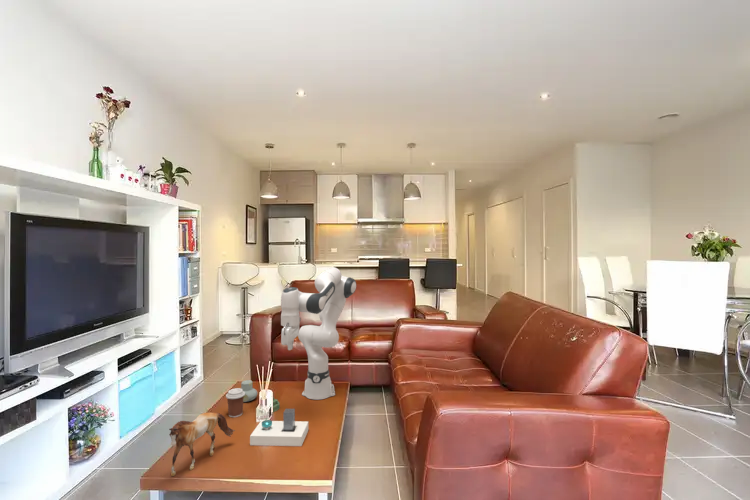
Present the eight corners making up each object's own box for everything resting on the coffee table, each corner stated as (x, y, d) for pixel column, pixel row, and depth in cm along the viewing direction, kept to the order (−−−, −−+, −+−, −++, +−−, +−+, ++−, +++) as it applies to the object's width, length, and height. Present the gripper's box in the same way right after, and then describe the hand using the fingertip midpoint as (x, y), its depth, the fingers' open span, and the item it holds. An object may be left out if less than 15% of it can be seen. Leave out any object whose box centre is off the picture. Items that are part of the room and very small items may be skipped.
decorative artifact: (279, 411, 196) (279, 404, 206) (279, 398, 196) (279, 391, 206) (259, 414, 193) (259, 406, 203) (259, 400, 193) (259, 393, 203)
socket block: (261, 429, 177) (261, 420, 177) (308, 430, 176) (308, 421, 176) (250, 445, 163) (250, 435, 163) (301, 446, 162) (301, 436, 162)
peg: (286, 435, 172) (285, 408, 172) (294, 435, 172) (294, 408, 172) (283, 439, 168) (283, 412, 168) (292, 439, 168) (292, 412, 168)
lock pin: (263, 434, 172) (263, 419, 172) (273, 434, 172) (273, 420, 172) (260, 439, 168) (260, 424, 168) (270, 439, 168) (270, 424, 168)
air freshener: (233, 402, 208) (233, 383, 208) (242, 396, 216) (242, 378, 216) (251, 403, 206) (251, 385, 206) (259, 397, 214) (259, 380, 214)
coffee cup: (236, 419, 187) (236, 395, 187) (221, 416, 190) (221, 392, 190) (249, 412, 196) (248, 388, 195) (234, 409, 199) (234, 386, 199)
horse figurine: (173, 486, 136) (172, 428, 136) (157, 481, 139) (156, 424, 138) (235, 443, 165) (235, 396, 164) (221, 440, 168) (220, 393, 167)
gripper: (291, 325, 177) (291, 355, 177) (301, 317, 197) (301, 344, 197) (277, 325, 177) (277, 355, 177) (289, 317, 197) (289, 343, 197)
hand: (290, 349), depth 187 cm, fingers closed
